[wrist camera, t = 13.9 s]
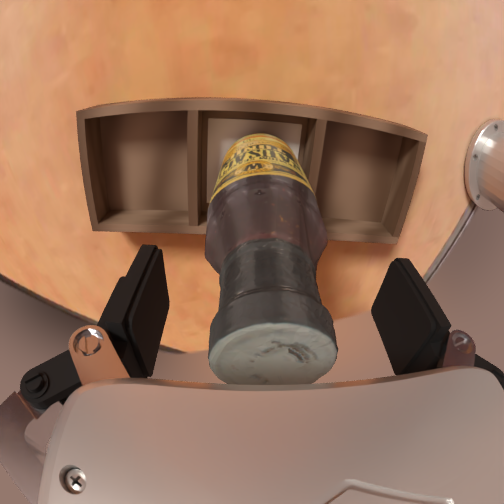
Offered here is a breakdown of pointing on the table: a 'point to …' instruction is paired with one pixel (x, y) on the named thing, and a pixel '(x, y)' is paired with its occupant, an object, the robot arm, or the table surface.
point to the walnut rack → (215, 148)
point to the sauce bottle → (267, 269)
